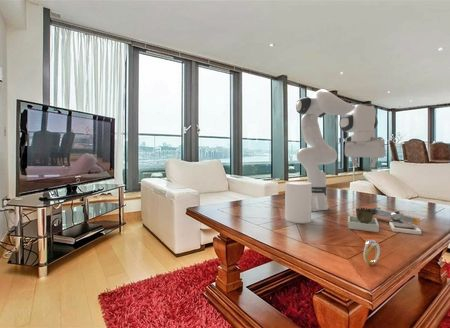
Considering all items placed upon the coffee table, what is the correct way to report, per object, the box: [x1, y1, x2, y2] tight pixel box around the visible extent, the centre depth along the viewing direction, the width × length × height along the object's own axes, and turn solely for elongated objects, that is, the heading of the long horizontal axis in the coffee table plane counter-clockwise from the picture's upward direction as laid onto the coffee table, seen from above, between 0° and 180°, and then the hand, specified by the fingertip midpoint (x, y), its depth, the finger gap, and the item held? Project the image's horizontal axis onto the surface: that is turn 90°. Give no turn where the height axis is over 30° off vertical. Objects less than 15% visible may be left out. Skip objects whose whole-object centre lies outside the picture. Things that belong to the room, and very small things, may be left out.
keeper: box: [389, 221, 422, 235], centre depth 115 cm, size 10×10×2 cm
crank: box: [369, 207, 421, 226], centre depth 124 cm, size 22×6×4 cm, turn 22°
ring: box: [362, 239, 381, 266], centre depth 81 cm, size 7×3×8 cm, turn 113°
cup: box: [355, 207, 374, 224], centre depth 119 cm, size 8×7×8 cm
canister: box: [284, 180, 312, 224], centre depth 133 cm, size 14×14×20 cm
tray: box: [347, 215, 380, 233], centre depth 120 cm, size 12×12×3 cm
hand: (363, 166), depth 118 cm, fingers open, 8 cm apart
